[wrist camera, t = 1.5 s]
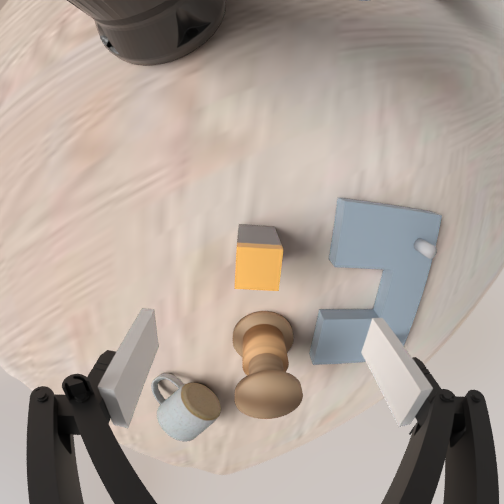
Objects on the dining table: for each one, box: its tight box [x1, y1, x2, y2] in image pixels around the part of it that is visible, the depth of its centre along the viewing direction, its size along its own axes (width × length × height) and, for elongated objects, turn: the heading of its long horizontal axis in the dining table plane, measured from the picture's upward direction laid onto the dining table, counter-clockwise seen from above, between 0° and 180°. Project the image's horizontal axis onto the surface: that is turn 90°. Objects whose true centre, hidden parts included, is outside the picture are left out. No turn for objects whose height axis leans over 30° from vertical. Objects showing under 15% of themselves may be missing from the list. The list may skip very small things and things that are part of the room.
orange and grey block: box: [235, 224, 283, 291], centre depth 29 cm, size 4×4×8 cm
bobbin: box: [233, 311, 303, 419], centre depth 31 cm, size 8×8×12 cm
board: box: [309, 198, 442, 365], centre depth 32 cm, size 22×14×6 cm, turn 176°
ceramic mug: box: [151, 373, 221, 441], centre depth 37 cm, size 11×8×8 cm
